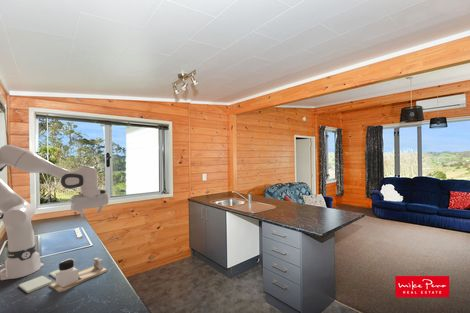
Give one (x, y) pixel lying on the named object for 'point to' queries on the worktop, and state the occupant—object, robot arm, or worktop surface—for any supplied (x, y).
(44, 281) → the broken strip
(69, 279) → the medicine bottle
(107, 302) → the worktop surface
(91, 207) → the robot arm
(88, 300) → the worktop surface
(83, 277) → the birch strip
